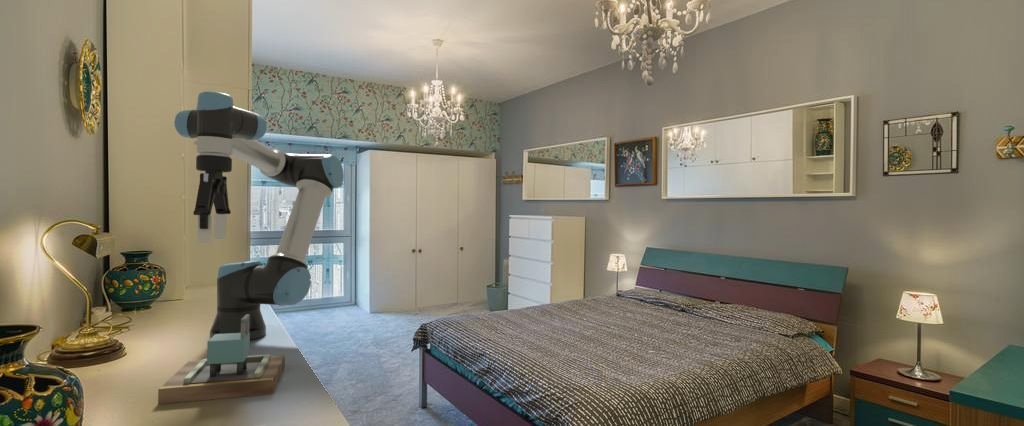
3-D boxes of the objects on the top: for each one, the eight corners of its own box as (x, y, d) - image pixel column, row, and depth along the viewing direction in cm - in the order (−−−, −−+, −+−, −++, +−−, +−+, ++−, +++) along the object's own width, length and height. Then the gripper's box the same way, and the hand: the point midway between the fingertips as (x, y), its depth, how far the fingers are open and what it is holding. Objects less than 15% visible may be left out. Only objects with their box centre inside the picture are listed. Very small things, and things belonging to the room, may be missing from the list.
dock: (188, 373, 113) (188, 356, 113) (284, 366, 119) (284, 350, 119) (158, 404, 96) (158, 383, 96) (272, 393, 102) (272, 374, 102)
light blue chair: (214, 369, 108) (215, 315, 107) (249, 366, 110) (250, 313, 110) (206, 378, 102) (207, 321, 102) (243, 375, 104) (244, 319, 104)
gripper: (211, 159, 128) (210, 237, 128) (179, 149, 104) (177, 244, 104) (242, 160, 130) (241, 237, 130) (217, 151, 107) (216, 244, 107)
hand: (212, 240), depth 117 cm, fingers open, 13 cm apart
